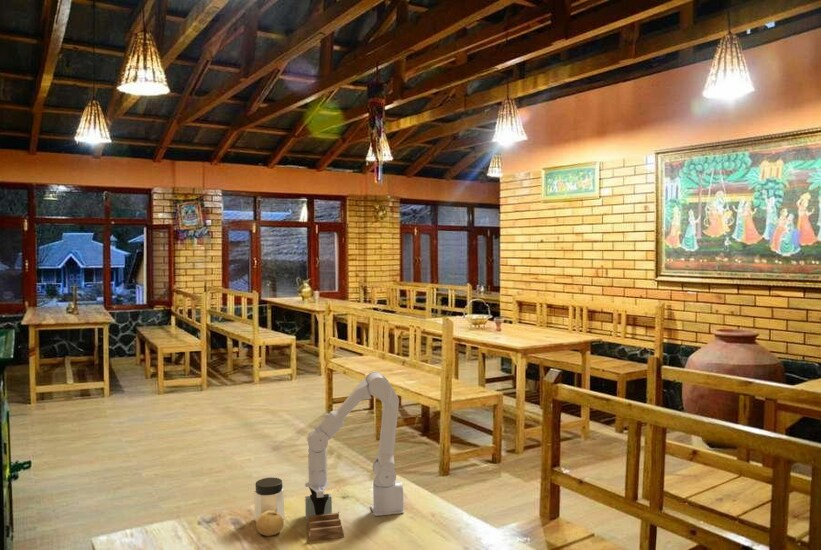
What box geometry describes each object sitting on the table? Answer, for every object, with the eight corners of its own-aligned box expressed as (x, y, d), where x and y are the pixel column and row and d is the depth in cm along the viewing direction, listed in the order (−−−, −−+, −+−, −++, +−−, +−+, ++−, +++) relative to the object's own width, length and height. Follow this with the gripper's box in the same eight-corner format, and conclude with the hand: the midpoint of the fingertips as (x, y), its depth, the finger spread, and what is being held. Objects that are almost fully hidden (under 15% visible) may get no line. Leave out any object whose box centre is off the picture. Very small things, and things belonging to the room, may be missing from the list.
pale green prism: (331, 514, 205) (330, 493, 205) (331, 517, 203) (331, 496, 202) (305, 516, 203) (305, 496, 203) (306, 520, 201) (305, 499, 201)
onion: (256, 540, 187) (256, 516, 187) (255, 529, 195) (255, 506, 195) (284, 537, 190) (284, 513, 189) (282, 525, 197) (282, 502, 197)
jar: (288, 520, 200) (287, 482, 200) (264, 528, 195) (263, 489, 194) (274, 511, 207) (274, 474, 206) (251, 518, 202) (250, 481, 201)
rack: (339, 521, 199) (339, 512, 199) (344, 536, 189) (343, 526, 189) (307, 525, 197) (306, 515, 197) (309, 540, 187) (309, 530, 187)
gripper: (303, 462, 208) (304, 503, 209) (306, 478, 194) (307, 522, 195) (325, 460, 210) (326, 501, 211) (329, 476, 196) (330, 520, 196)
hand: (318, 511), depth 203 cm, fingers open, 7 cm apart
